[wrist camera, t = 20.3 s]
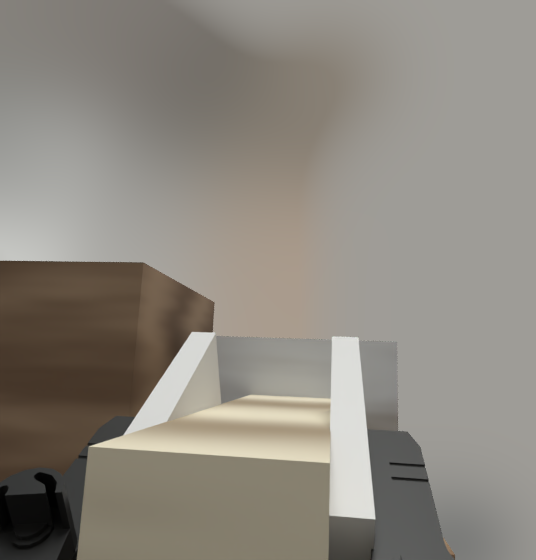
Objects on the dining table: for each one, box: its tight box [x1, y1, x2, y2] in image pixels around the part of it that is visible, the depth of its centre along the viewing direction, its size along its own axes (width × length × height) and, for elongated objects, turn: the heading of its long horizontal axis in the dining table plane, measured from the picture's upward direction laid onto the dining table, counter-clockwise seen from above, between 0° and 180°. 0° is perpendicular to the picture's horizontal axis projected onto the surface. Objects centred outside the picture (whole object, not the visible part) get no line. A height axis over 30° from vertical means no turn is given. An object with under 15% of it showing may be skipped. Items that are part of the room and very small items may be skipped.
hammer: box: [77, 336, 398, 560], centre depth 16 cm, size 20×9×6 cm, turn 172°
